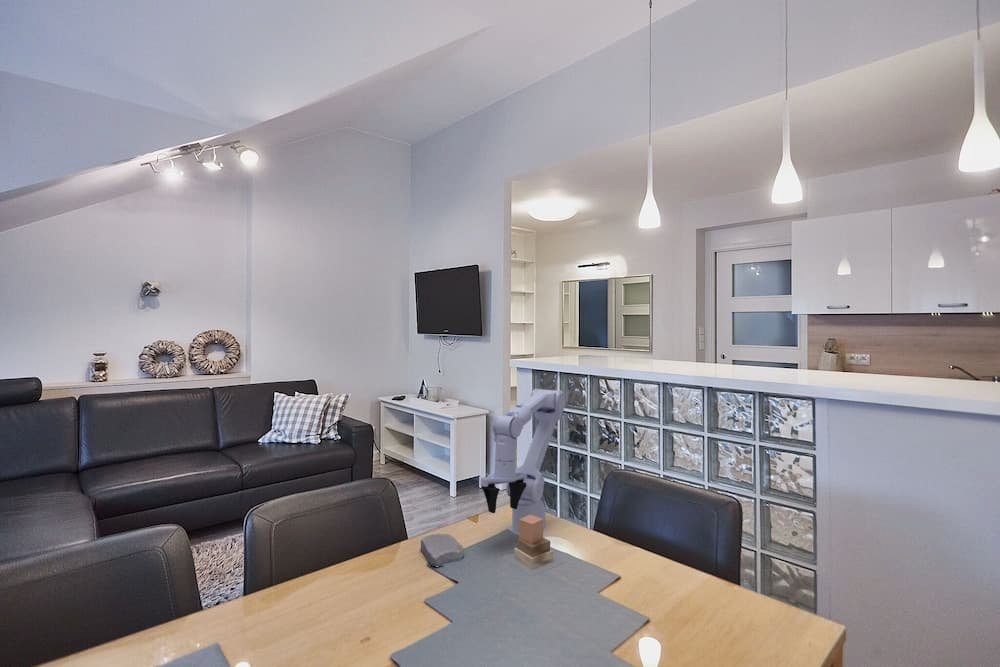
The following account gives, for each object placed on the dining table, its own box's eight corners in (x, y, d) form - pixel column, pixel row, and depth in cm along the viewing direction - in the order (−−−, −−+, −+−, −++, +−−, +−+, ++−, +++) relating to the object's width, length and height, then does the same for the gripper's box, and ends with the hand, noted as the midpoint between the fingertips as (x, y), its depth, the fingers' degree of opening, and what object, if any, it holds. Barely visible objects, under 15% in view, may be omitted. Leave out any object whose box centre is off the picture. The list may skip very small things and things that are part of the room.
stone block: (450, 549, 137) (416, 549, 133) (454, 532, 137) (420, 532, 133) (466, 570, 127) (430, 571, 122) (470, 552, 127) (434, 552, 122)
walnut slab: (534, 542, 130) (534, 533, 130) (550, 550, 126) (550, 541, 126) (517, 548, 127) (517, 538, 127) (532, 557, 122) (532, 547, 122)
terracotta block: (530, 533, 130) (530, 514, 130) (543, 538, 127) (543, 519, 127) (518, 538, 127) (518, 519, 127) (532, 543, 124) (532, 524, 124)
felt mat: (536, 546, 135) (536, 544, 135) (567, 564, 125) (567, 561, 125) (500, 559, 128) (500, 556, 128) (530, 578, 118) (530, 576, 118)
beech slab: (535, 550, 131) (535, 541, 131) (552, 560, 125) (553, 551, 125) (514, 557, 127) (514, 548, 127) (531, 568, 121) (531, 558, 121)
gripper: (516, 455, 143) (514, 502, 142) (475, 459, 134) (472, 510, 133) (532, 459, 138) (530, 509, 137) (491, 464, 129) (488, 517, 128)
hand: (502, 510), depth 135 cm, fingers open, 7 cm apart
